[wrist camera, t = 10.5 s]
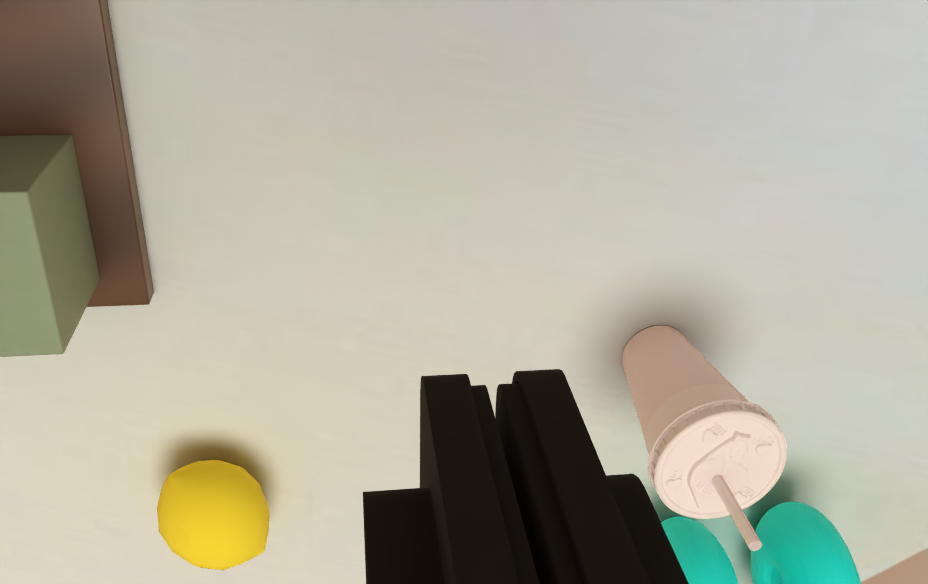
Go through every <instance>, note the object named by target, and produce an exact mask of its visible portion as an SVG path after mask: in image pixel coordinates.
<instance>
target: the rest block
mask: <svg viewBox="0 0 928 584" xmlns="http://www.w3.org/2000/svg"><path fill="white" fill-rule="evenodd" d="M99 280H100V276H99V271H98V266H97V261H96V255H95V250H94V245H93V240H92V235H91V229H90V224H89V219H88V214H87V209H86V203H85V198H84V193H83V188H82V183H81V177H80V172H79V167H78V162H77V157H76V151H75V146H74V141H73V136H72V135H17V136H0V357H6V356H27V355H49V354H63V353H64V351H65V349H66V347H67V345H68V343H69V341H70V339H71V337H72V335H73V333H74V331H75V329H76V327H77V325H78V323H79V321H80V319H81V317H82V315H83V313H84V310H85V308H86V306H87V304H88V302H89V300H90V298H91V296H92V294H93V292H94V290H95V288H96V286H97V284H98V282H99Z"/></svg>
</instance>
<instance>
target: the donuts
mask: <svg viewBox="0 0 928 584" xmlns="http://www.w3.org/2000/svg"><path fill="white" fill-rule="evenodd" d="M661 524H662V526H663V529H664V531H665V533H666V535H667V537H668V539H669V542H670V544H671V546H672V548H673V550H674V553H675V555H676V557H677V559H678V561H679V563H680V566H681V568H682V570H683V572H684V574H685V576H686V579H687V581H688V583H689V584H738V581H737V578H736V575H735V572H734V569H733V567H732V565H731V562H730V560H729V558H728V556H727V554H726V552H725V551H724V549H723V547H722V546H721V544H720V543H719V542H718V540H717V539H716V537H715V536H714V535H713V534H712V533H711V532H710V531H709V530H708V529H707V528H706V527H705V526H703V525H702V524H701V523H699V522H697V521H695V520H693V519H690V518H687V517H680V516H677V517H671V518H668V519H666V520H664V521H662V522H661ZM755 533H756V534H757V536H758V538H759V540H760V541H761V543H762V546H761V548H760V549H759V550H756V551H751V575H752V582H753V584H861V582H860V578H859V575H858V572H857V570H856V566H855V563H854V561H853V559H852V556H851V554H850V552H849V550H848V547H847V546H846V544H845V542H844V540H843V539H842V537H841V535H840V534H839V532H838V531H837V529H836V528H835V527H834V525H833V524H832V523H831V522H830V521H829V520H828V519H827V518H826V517H825V516H824V515H823V514H822V513H820V512H819V511H818V510H816V509H815V508H813V507H811V506H809V505H806V504H804V503H800V502H784V503H781V504H778V505H776V506H774V507H773V508H771V509H770V510H768V511H767V512H766V514H765V515H764V516H763V517H762V518H761V520H760V522H759V524H758V526H757V528H756V530H755Z"/></svg>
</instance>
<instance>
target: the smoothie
mask: <svg viewBox="0 0 928 584" xmlns="http://www.w3.org/2000/svg"><path fill="white" fill-rule="evenodd" d="M622 363H623V367H624V370H625V374H626V377H627V381H628V384H629V387H630V391H631V394H632V398H633V401H634V405H635V408H636V411H637V415H638V418H639V422H640V425H641V428H642V432H643V435H644V439H645V442H646V446H647V450H648V453H649V460H648V473H649V477H650V481H651V484H652V485H653V487H654V488H655V489H656V491H657V493H658V495H659V497H660V499H661V500H662V502H663V503H664V504H665V505H666V506H667V507H668V508H670V509H671V510H673V511H674V512H676V513H678V514H680V515H683V516H686V517H690V518H697V519H712V518H719V517H724V516H728V515H731V517H732V519H733V520H734V522H735V524H736V526H737V528H738V529H739V531H740V533H741V535H742V536H743V538H744V540H745V542H746V544H747V545H748V547H749V549H750V550H751V551H756V550H759V549H760V548H761V546H762V543H761V541H760V540H759V538H758V536H757V534H756V533H755V531H754V529H753V528H752V526H751V524H750V522H749V521H748V519H747V517H746V516H745V514H744V512H743V509H745V508H747V507H749V506H751V505H753V504H754V503H755V502H757V501H758V500H760V499H761V498H762V497H763V496H764V495H766V494H767V493H768V492H769V491H770V490H771V488H772V487H773V486H774V485H775V483H776V482H777V481H778V479H779V477H780V476H781V474H782V472H783V469H784V467H785V464H786V459H787V444H786V440H785V438H784V435H783V433H782V432H781V430H780V429H779V427H778V425H777V423H776V421H775V420H774V418H773V416H772V415H771V414H770V413H768V412H767V411H766V410H765V409H764V408H763V407H761V406H759V405H756V404H754V403H751V402H749V401H748V400H747V399H746V398H745V397H744V396H743V395H742V394H741V393H740V392H739V391H738V390H737V389H736V388H735V387H734V386H733V385H732V384H731V383H730V382H729V381H728V380H727V379H726V378H725V377H724V376H723V375H722V374H721V373H720V372H719V371H718V370H717V369H716V368H715V367H714V366H713V365H712V364H711V363H710V362H709V361H708V360H707V359H706V358H705V357H704V356H703V355H702V354H701V353H700V352H699V351H698V350H697V349H696V348H695V347H694V346H693V345H692V344H691V343H690V342H689V341H688V340H687V339H686V338H685V337H684V336H683V335H682V334H681V333H680V332H679V331H678V330H676V329H674V328H672V327H669V326H653V327H649V328H646V329H644V330H642V331H640V332H638V333H637V334H636V335H634V336H633V337H632V338H631V339H630V340H629V342H628V343H627V345H626V346H625V348H624V351H623V355H622Z"/></svg>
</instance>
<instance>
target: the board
mask: <svg viewBox="0 0 928 584" xmlns="http://www.w3.org/2000/svg"><path fill="white" fill-rule="evenodd" d="M17 135H72V136H73V141H74V146H75V151H76V157H77V162H78V167H79V172H80V177H81V183H82V188H83V193H84V198H85V203H86V209H87V214H88V219H89V224H90V229H91V235H92V240H93V245H94V250H95V255H96V261H97V266H98V271H99V276H100V280H99V282H98V284H97V286H96V288H95V290H94V292H93V294H92V296H91V298H90V300H89V302H88V304H87V306H86V307H95V306H120V305H146V304H149V303H150V301H151V298H152V295H153V286H152V280H151V274H150V267H149V261H148V255H147V249H146V242H145V236H144V230H143V224H142V217H141V211H140V205H139V199H138V193H137V186H136V180H135V174H134V168H133V161H132V155H131V149H130V143H129V136H128V130H127V124H126V118H125V112H124V105H123V99H122V93H121V87H120V80H119V74H118V68H117V62H116V55H115V49H114V43H113V37H112V31H111V24H110V18H109V12H108V6H107V0H0V136H17Z"/></svg>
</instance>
